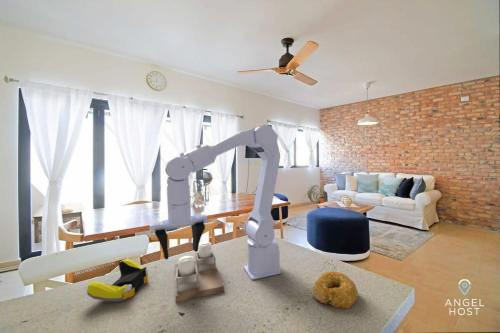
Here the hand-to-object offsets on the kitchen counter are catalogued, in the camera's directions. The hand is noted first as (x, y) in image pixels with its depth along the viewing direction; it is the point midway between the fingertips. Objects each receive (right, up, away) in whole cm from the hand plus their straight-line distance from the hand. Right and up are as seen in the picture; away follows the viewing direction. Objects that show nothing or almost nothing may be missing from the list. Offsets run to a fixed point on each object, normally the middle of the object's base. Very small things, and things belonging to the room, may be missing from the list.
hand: (181, 253), depth 58 cm
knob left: (+1, -5, 0) cm, 6 cm away
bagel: (+39, -10, -3) cm, 41 cm away
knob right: (+4, -5, +10) cm, 12 cm away
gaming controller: (-16, -10, +1) cm, 19 cm away
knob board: (+3, -10, +5) cm, 11 cm away
